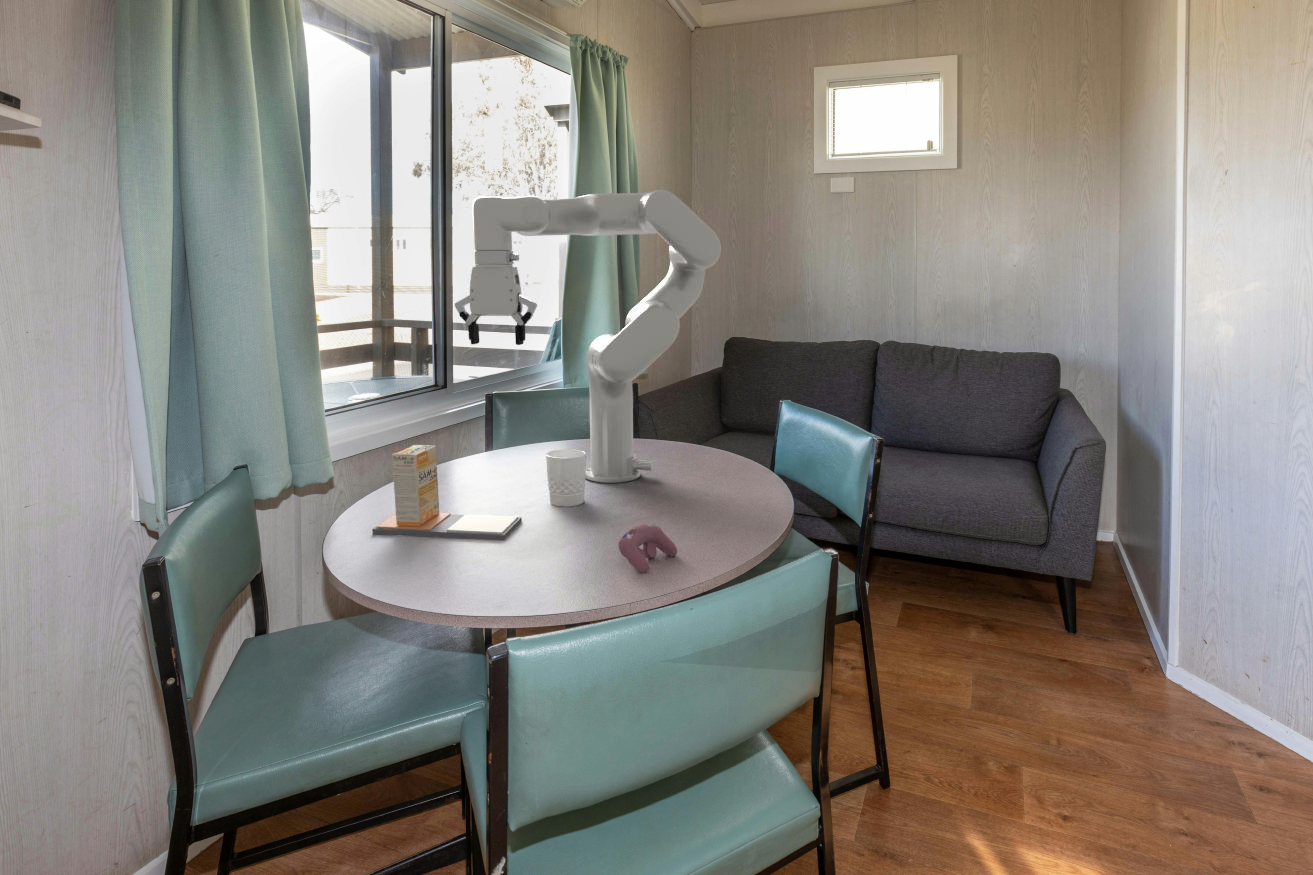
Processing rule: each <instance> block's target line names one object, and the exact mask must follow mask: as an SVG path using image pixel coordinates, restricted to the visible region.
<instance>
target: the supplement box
mask: <svg viewBox="0 0 1313 875" xmlns="http://www.w3.org/2000/svg"><path fill="white" fill-rule="evenodd" d="M391 461H392V476H393V478H392V479H393V490H394V503H395V504H394V505H395V514H396V522H397V525H400V526H417V527H420V526H421V525H422V524H424V523H425V522H427V521H428V520H429V519H431V518H432V517H434V516H435V515H437V514H439V513H440V499H439V480H438V462H437V461H438V460H437V446H436V445H432V444H431V445H429V444H413V445H411V446H408V447H406V448H404V449H402V450H400V451H397V452H394V453H392V454H391Z"/></svg>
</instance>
